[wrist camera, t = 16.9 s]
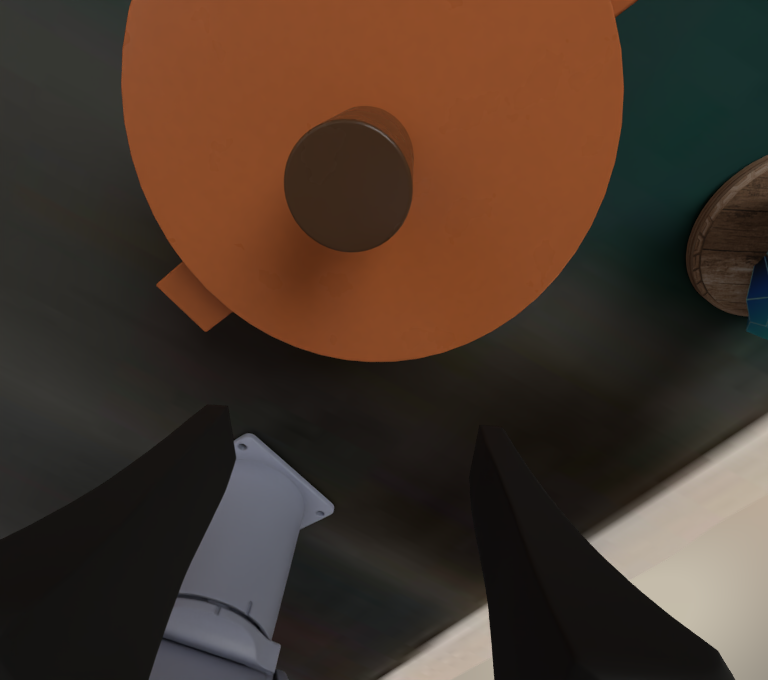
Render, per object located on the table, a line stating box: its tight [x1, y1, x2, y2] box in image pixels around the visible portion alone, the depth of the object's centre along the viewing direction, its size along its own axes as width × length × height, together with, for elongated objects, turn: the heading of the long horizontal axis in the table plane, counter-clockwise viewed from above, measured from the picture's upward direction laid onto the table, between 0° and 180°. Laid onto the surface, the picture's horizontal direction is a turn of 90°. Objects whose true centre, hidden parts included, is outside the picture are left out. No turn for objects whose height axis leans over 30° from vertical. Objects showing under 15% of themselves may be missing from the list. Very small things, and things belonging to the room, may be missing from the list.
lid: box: [121, 0, 624, 362], centre depth 11 cm, size 13×13×5 cm
